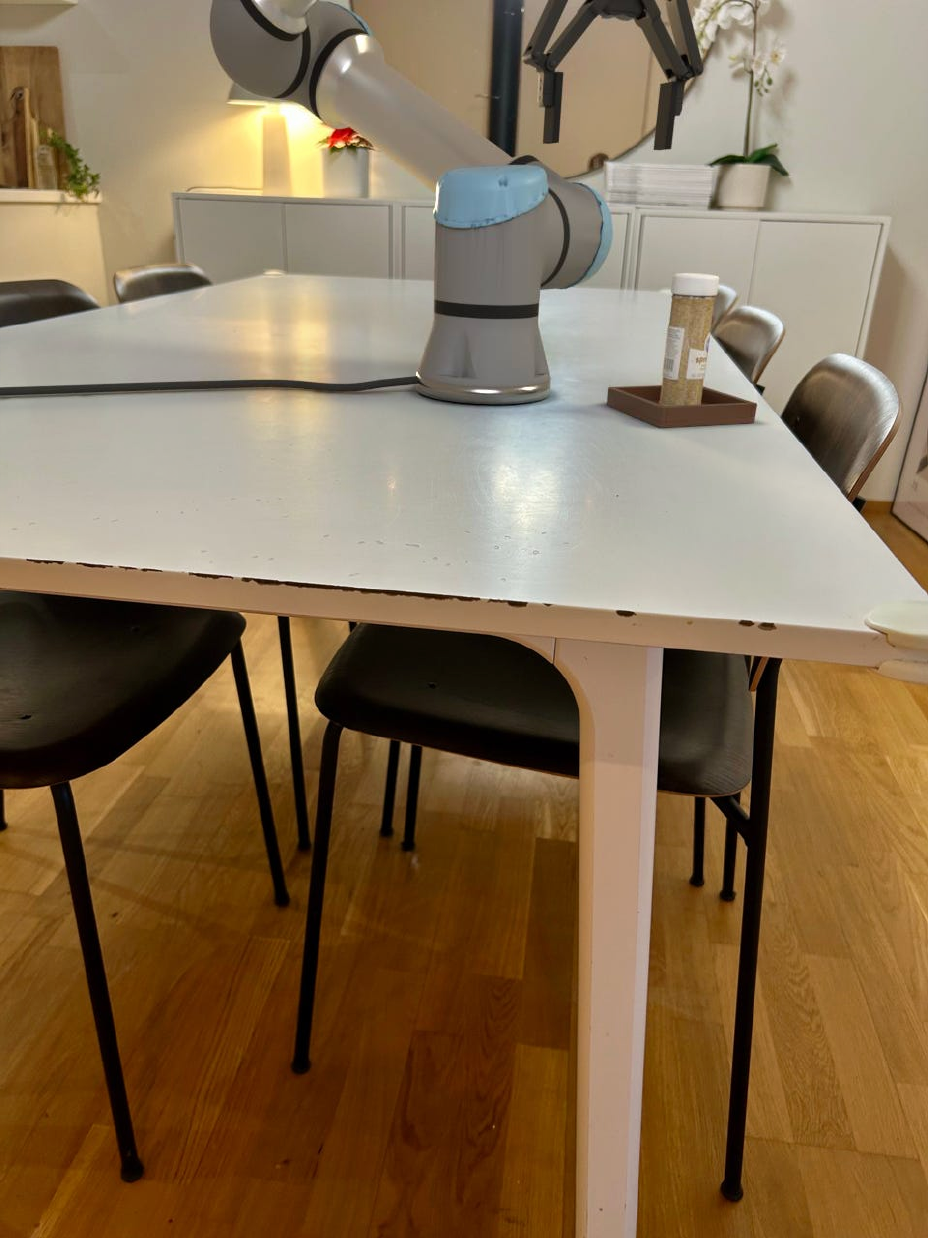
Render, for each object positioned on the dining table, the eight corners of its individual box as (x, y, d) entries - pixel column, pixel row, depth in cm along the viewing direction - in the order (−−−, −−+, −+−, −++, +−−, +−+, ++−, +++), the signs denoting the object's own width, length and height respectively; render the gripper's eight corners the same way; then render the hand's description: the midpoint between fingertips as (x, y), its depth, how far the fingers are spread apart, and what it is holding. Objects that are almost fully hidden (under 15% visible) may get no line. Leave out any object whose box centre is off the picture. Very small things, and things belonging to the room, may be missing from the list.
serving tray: (659, 427, 89) (662, 407, 89) (606, 405, 99) (608, 386, 98) (754, 422, 93) (757, 403, 92) (693, 401, 103) (696, 383, 102)
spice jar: (703, 414, 93) (723, 276, 88) (659, 412, 94) (676, 274, 88) (697, 406, 98) (716, 273, 92) (655, 403, 98) (670, 271, 92)
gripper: (715, -68, 98) (689, 153, 106) (498, -98, 90) (489, 141, 99) (756, -86, 91) (724, 150, 100) (526, -121, 84) (513, 138, 93)
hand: (607, 146), depth 100 cm, fingers open, 13 cm apart
